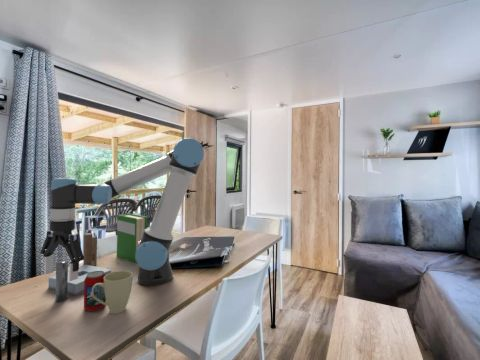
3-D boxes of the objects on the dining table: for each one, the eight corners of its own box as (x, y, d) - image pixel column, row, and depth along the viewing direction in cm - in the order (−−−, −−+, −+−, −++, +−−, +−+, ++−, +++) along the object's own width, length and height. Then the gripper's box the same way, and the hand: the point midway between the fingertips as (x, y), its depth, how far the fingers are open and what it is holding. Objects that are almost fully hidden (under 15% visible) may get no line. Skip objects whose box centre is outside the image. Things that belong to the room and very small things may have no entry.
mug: (117, 300, 91) (118, 268, 91) (137, 306, 87) (138, 273, 87) (89, 315, 81) (90, 279, 81) (110, 323, 77) (111, 285, 77)
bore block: (110, 279, 108) (111, 269, 108) (75, 295, 93) (75, 284, 93) (85, 274, 114) (85, 264, 114) (48, 288, 99) (48, 277, 99)
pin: (69, 298, 91) (70, 261, 91) (59, 302, 88) (60, 264, 88) (63, 296, 93) (63, 260, 93) (53, 300, 89) (53, 263, 89)
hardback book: (146, 259, 136) (147, 216, 135) (134, 263, 130) (135, 218, 129) (128, 253, 146) (129, 213, 145) (116, 256, 140) (117, 214, 139)
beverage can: (89, 314, 81) (90, 279, 81) (79, 308, 85) (80, 274, 84) (109, 306, 87) (110, 272, 87) (99, 300, 90) (100, 268, 90)
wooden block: (96, 264, 127) (97, 229, 127) (90, 271, 117) (91, 234, 117) (88, 264, 126) (89, 230, 126) (82, 272, 116) (82, 235, 115)
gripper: (96, 221, 89) (94, 278, 89) (51, 215, 98) (49, 267, 98) (76, 224, 82) (74, 286, 82) (29, 217, 91) (28, 274, 91)
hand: (60, 276), depth 90 cm, fingers open, 13 cm apart
